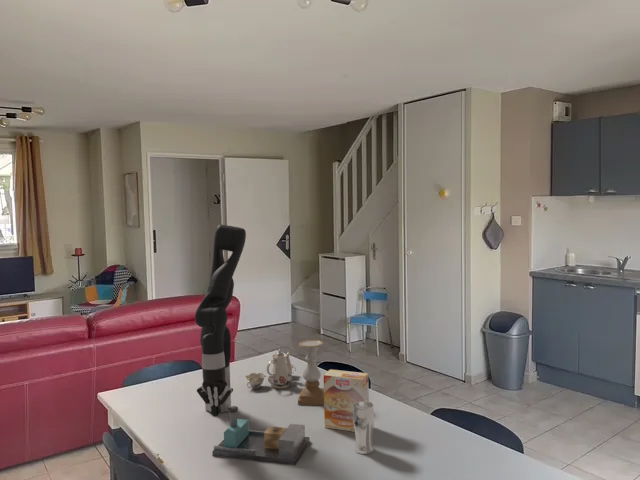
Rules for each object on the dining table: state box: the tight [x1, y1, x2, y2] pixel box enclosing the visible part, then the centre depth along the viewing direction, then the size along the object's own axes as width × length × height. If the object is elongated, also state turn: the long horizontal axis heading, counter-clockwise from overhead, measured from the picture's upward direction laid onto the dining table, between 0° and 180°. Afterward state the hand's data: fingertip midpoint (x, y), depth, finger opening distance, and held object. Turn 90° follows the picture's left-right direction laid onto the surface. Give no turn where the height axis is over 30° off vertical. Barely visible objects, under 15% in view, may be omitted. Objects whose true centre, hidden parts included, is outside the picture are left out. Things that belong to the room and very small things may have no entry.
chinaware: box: [245, 349, 297, 390], centre depth 231 cm, size 28×17×17 cm, turn 143°
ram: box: [223, 405, 250, 448], centre depth 172 cm, size 5×11×11 cm, turn 165°
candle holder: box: [297, 339, 324, 406], centre depth 210 cm, size 11×11×24 cm
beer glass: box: [353, 401, 375, 455], centre depth 167 cm, size 7×7×15 cm
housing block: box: [264, 426, 288, 449], centre depth 168 cm, size 6×5×5 cm
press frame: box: [211, 423, 311, 466], centre depth 170 cm, size 28×16×6 cm, turn 75°
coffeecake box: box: [323, 368, 370, 433], centre depth 184 cm, size 15×7×20 cm, turn 68°
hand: (216, 415), depth 173 cm, fingers closed
